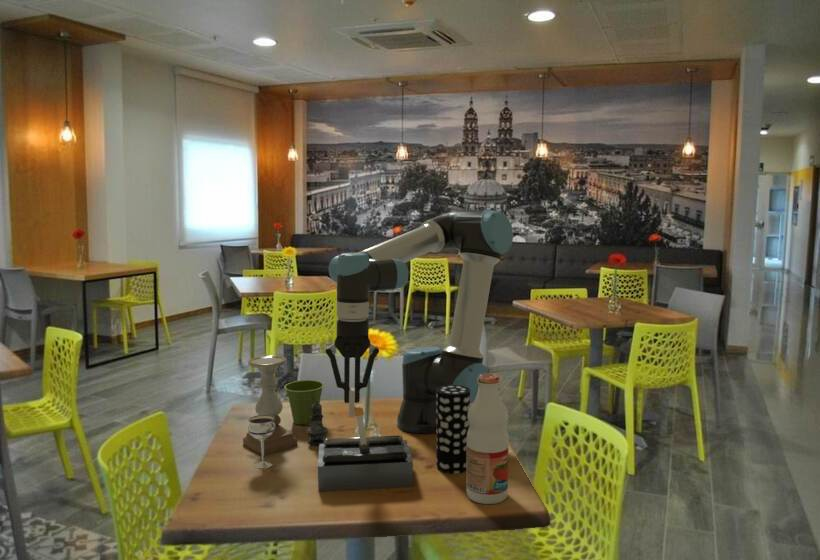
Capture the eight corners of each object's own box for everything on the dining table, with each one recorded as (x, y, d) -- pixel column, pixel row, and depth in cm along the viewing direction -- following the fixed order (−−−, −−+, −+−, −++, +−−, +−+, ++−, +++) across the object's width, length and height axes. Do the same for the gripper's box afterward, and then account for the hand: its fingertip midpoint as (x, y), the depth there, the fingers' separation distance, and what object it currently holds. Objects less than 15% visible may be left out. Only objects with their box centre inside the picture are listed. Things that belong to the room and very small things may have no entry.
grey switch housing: (406, 462, 170) (406, 433, 169) (412, 486, 156) (412, 454, 155) (319, 466, 168) (319, 436, 167) (318, 491, 154) (317, 459, 153)
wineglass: (281, 464, 169) (280, 419, 168) (258, 472, 165) (257, 425, 163) (267, 457, 174) (265, 412, 173) (244, 464, 169) (242, 419, 168)
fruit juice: (469, 484, 157) (470, 369, 153) (509, 488, 155) (511, 371, 151) (463, 503, 148) (464, 380, 144) (505, 507, 146) (507, 383, 142)
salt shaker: (302, 444, 183) (301, 401, 182) (314, 437, 188) (313, 395, 187) (319, 447, 180) (318, 404, 179) (332, 440, 186) (331, 398, 184)
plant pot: (300, 412, 209) (299, 377, 207) (332, 418, 204) (331, 382, 202) (277, 424, 198) (275, 387, 197) (309, 430, 193) (309, 393, 192)
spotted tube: (465, 459, 172) (465, 384, 170) (473, 472, 164) (473, 393, 161) (433, 461, 171) (433, 385, 168) (439, 474, 163) (440, 395, 160)
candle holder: (276, 434, 190) (274, 352, 187) (298, 445, 182) (295, 359, 179) (242, 444, 183) (238, 359, 180) (263, 455, 175) (260, 367, 172)
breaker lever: (369, 447, 163) (362, 403, 162) (370, 453, 160) (363, 408, 158) (359, 449, 163) (353, 404, 162) (360, 455, 159) (353, 410, 158)
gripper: (324, 321, 152) (324, 421, 155) (380, 321, 154) (379, 420, 157) (325, 315, 160) (325, 410, 163) (379, 315, 161) (377, 410, 164)
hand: (351, 415), depth 160 cm, fingers closed
